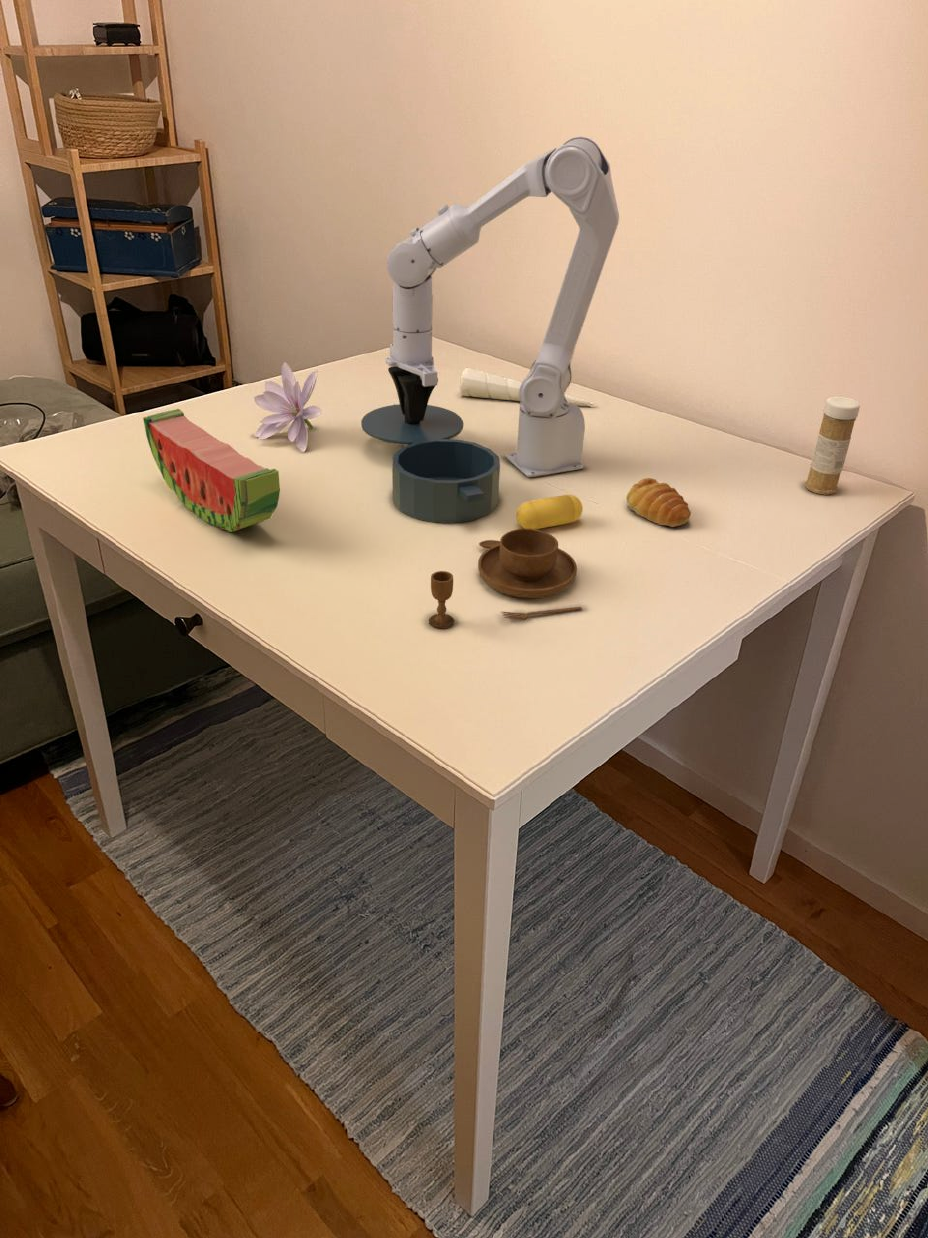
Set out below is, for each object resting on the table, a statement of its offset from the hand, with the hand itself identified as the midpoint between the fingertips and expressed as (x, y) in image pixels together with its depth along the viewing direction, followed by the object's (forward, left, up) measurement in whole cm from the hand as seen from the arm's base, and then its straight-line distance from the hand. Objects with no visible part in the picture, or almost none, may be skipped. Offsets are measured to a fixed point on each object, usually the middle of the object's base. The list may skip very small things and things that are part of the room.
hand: (412, 417), depth 142 cm
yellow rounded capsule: (-8, +30, -5) cm, 31 cm away
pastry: (-24, +32, -5) cm, 40 cm away
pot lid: (0, 0, -1) cm, 1 cm away
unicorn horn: (-26, -14, -5) cm, 30 cm away
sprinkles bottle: (-51, +34, -5) cm, 62 cm away
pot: (+2, +18, -5) cm, 19 cm away
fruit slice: (+32, +11, -5) cm, 34 cm away
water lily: (+17, -11, -5) cm, 21 cm away
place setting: (+5, +41, -5) cm, 42 cm away
